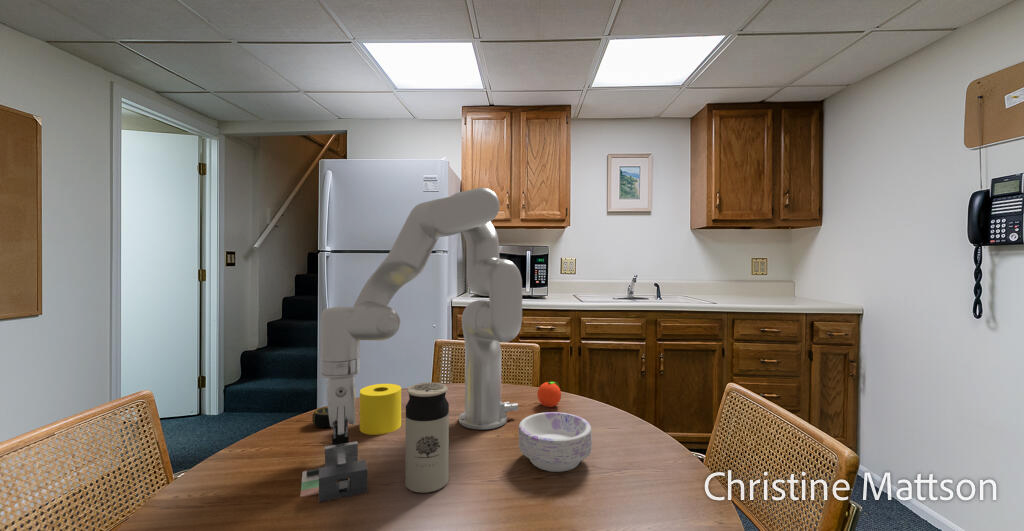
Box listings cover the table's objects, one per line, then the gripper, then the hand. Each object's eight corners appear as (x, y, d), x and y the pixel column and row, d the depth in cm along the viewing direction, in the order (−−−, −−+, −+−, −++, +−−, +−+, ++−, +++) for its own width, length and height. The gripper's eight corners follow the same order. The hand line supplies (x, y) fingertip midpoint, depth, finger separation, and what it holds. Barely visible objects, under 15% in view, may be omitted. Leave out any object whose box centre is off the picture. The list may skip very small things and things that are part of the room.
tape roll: (406, 428, 105) (407, 391, 105) (366, 438, 99) (366, 398, 99) (393, 416, 113) (393, 381, 113) (355, 424, 107) (355, 387, 107)
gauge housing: (365, 481, 79) (365, 459, 79) (367, 492, 76) (367, 469, 76) (318, 490, 76) (319, 467, 76) (318, 502, 72) (318, 478, 72)
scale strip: (321, 469, 84) (321, 468, 84) (321, 493, 75) (321, 492, 75) (302, 472, 83) (302, 471, 83) (300, 497, 74) (300, 496, 74)
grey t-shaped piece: (357, 465, 85) (357, 441, 85) (361, 491, 76) (361, 463, 76) (306, 475, 81) (306, 449, 81) (304, 502, 72) (304, 473, 72)
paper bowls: (507, 471, 84) (507, 432, 83) (532, 441, 98) (532, 407, 98) (583, 487, 78) (583, 444, 78) (597, 452, 92) (597, 416, 92)
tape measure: (340, 428, 105) (340, 413, 105) (310, 431, 103) (310, 416, 103) (342, 418, 112) (342, 404, 112) (314, 421, 109) (314, 407, 109)
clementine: (550, 399, 127) (550, 376, 127) (568, 405, 122) (568, 381, 122) (532, 406, 122) (532, 381, 122) (550, 412, 116) (550, 386, 116)
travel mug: (412, 471, 83) (412, 381, 83) (451, 472, 83) (452, 382, 83) (400, 493, 75) (400, 394, 75) (444, 494, 75) (444, 394, 75)
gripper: (362, 373, 82) (361, 467, 82) (357, 357, 95) (357, 437, 96) (319, 377, 79) (319, 474, 79) (321, 360, 92) (321, 443, 93)
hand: (340, 454), depth 87 cm, fingers closed
